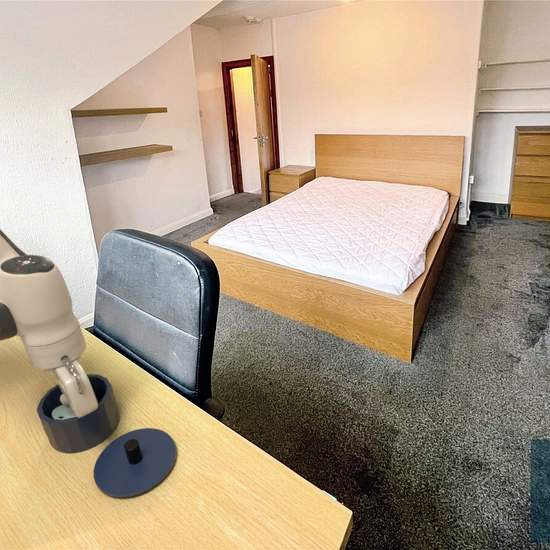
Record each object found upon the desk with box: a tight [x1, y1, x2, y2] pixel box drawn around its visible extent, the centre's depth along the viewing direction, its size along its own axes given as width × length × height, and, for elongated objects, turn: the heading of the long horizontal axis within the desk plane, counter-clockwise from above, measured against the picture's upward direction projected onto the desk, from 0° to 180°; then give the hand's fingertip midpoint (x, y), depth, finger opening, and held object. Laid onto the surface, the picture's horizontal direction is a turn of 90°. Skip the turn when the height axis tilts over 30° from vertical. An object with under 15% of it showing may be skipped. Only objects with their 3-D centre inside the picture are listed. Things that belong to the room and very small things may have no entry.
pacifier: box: [52, 394, 76, 420], centre depth 77 cm, size 7×6×6 cm
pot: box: [36, 373, 121, 454], centre depth 77 cm, size 13×13×8 cm
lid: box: [93, 427, 177, 498], centre depth 70 cm, size 14×14×5 cm
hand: (78, 405), depth 77 cm, fingers closed on pacifier
